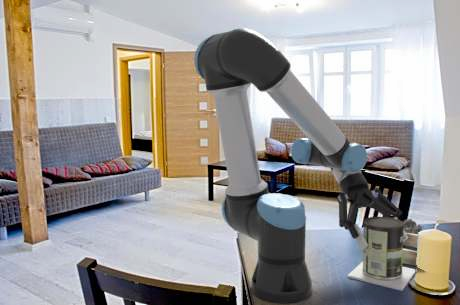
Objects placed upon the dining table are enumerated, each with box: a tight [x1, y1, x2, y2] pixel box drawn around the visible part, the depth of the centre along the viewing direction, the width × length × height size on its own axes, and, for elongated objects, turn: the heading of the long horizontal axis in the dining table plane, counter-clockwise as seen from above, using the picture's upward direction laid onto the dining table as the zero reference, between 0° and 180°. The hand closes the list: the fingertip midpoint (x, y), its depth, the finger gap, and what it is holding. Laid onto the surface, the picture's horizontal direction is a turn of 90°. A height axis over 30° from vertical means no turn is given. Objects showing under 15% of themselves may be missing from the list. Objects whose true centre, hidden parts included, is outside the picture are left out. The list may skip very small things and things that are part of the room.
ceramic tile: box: [347, 261, 416, 292], centre depth 115 cm, size 14×14×1 cm
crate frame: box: [402, 233, 419, 267], centre depth 131 cm, size 16×16×4 cm
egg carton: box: [403, 218, 424, 235], centre depth 149 cm, size 11×8×4 cm
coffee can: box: [362, 216, 404, 280], centre depth 114 cm, size 10×10×14 cm
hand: (385, 244), depth 114 cm, fingers open, 13 cm apart
